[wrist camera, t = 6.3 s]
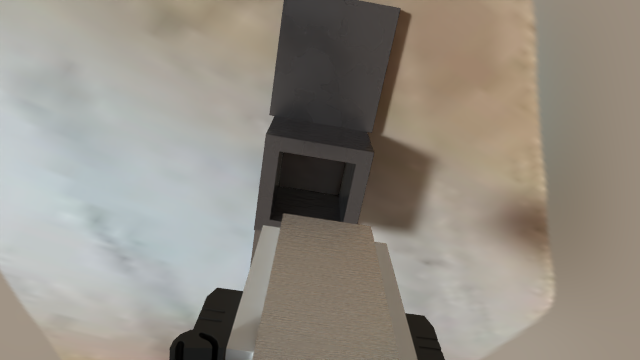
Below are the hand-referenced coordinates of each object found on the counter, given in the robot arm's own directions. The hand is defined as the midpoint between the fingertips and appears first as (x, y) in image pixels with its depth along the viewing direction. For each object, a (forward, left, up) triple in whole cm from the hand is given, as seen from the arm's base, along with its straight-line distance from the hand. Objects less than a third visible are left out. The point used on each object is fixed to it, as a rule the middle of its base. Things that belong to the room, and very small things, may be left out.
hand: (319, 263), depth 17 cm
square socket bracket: (+2, 0, -17) cm, 17 cm away
